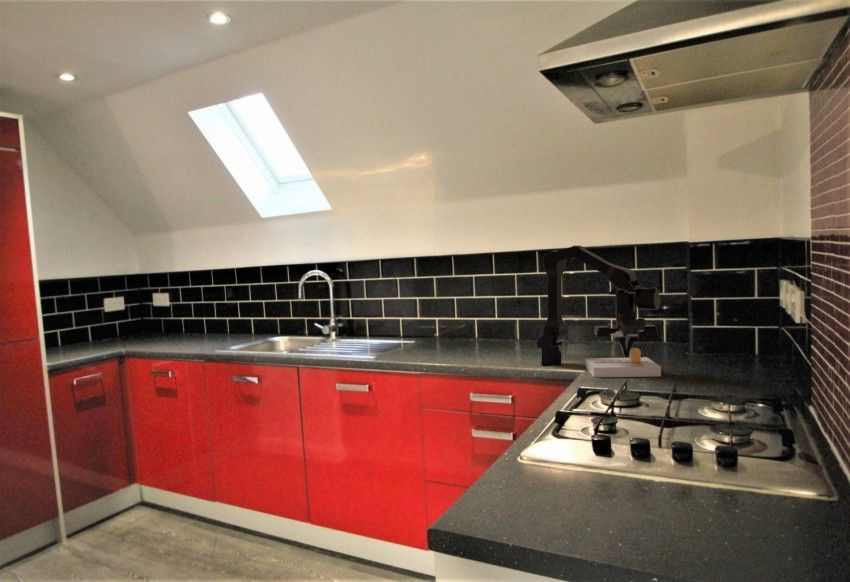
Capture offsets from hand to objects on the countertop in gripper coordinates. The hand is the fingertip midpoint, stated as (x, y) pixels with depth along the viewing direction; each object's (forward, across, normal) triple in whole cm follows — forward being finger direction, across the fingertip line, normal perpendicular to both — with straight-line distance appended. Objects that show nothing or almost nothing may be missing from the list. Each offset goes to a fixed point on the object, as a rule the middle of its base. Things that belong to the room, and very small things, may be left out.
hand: (626, 357), depth 188 cm
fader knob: (+5, +3, 0) cm, 5 cm away
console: (+5, -2, 0) cm, 5 cm away
